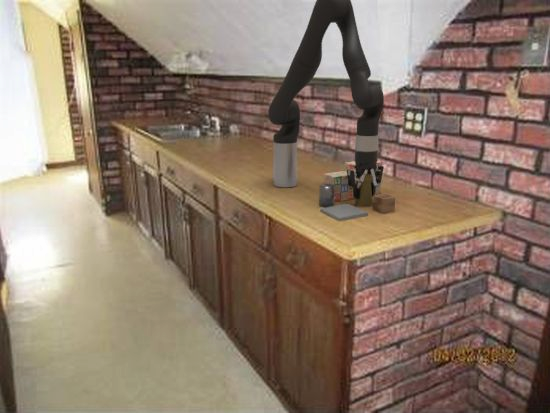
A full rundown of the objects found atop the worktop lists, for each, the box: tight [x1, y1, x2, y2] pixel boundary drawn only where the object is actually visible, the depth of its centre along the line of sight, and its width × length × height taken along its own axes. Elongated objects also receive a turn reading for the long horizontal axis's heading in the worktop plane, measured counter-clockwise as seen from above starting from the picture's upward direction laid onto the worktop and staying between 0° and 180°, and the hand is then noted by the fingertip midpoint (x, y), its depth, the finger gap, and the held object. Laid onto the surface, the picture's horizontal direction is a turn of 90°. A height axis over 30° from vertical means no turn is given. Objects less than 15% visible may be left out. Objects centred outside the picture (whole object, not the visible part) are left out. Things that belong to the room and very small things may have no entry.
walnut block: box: [372, 193, 396, 215], centre depth 155 cm, size 5×5×5 cm
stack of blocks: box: [323, 160, 383, 203], centre depth 170 cm, size 21×6×12 cm, turn 119°
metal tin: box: [318, 183, 335, 208], centre depth 161 cm, size 5×5×7 cm
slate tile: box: [319, 203, 369, 222], centre depth 153 cm, size 11×11×1 cm
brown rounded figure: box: [354, 174, 373, 208], centre depth 161 cm, size 6×6×11 cm
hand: (364, 196), depth 162 cm, fingers open, 5 cm apart
